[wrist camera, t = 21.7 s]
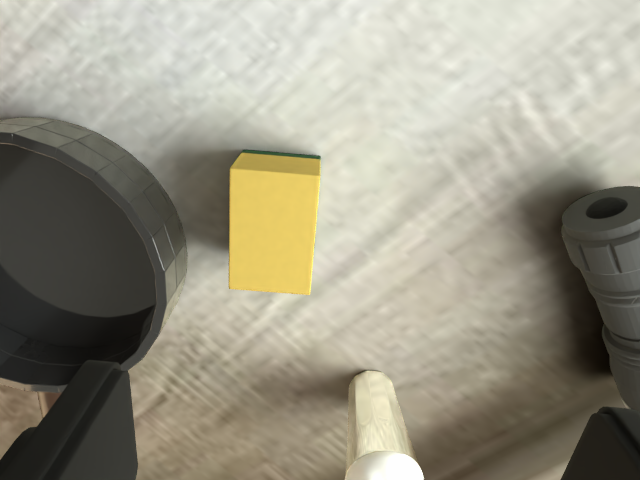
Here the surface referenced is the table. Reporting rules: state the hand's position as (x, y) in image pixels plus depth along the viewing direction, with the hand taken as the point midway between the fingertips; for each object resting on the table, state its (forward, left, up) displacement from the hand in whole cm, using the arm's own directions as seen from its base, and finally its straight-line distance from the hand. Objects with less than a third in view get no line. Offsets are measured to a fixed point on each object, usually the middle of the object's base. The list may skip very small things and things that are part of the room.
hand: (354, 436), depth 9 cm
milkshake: (+16, +4, -20) cm, 26 cm away
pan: (+6, -17, -20) cm, 27 cm away
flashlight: (+6, +20, -20) cm, 29 cm away
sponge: (+2, -3, -20) cm, 20 cm away
